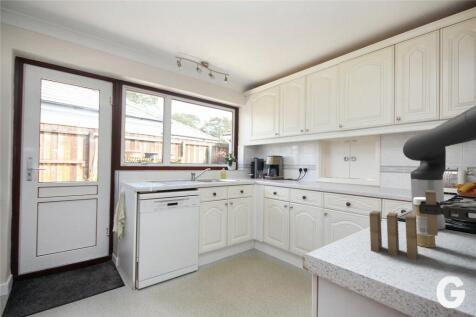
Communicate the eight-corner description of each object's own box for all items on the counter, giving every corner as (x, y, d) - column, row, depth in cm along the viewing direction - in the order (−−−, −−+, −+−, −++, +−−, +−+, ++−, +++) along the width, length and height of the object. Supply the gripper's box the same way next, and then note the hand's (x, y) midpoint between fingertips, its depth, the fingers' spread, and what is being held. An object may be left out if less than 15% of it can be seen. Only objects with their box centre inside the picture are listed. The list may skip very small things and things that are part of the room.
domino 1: (391, 248, 64) (389, 212, 64) (399, 249, 63) (397, 212, 63) (388, 253, 60) (386, 215, 60) (396, 255, 59) (394, 216, 59)
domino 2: (409, 251, 61) (407, 213, 62) (417, 253, 60) (415, 214, 60) (407, 257, 58) (405, 217, 58) (416, 259, 56) (414, 218, 57)
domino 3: (428, 229, 59) (426, 190, 59) (437, 231, 57) (435, 190, 58) (427, 234, 55) (425, 192, 55) (437, 235, 54) (435, 192, 54)
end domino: (374, 245, 67) (373, 210, 67) (382, 246, 65) (380, 211, 66) (370, 250, 63) (369, 213, 63) (378, 252, 62) (377, 214, 62)
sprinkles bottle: (438, 245, 65) (436, 197, 66) (432, 249, 63) (430, 199, 63) (419, 241, 69) (416, 196, 69) (412, 244, 66) (410, 197, 67)
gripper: (516, 192, 52) (420, 189, 63) (536, 200, 41) (416, 194, 53) (519, 226, 52) (422, 216, 63) (539, 242, 41) (418, 228, 52)
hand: (420, 206), depth 58 cm, fingers closed on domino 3, 5 cm apart
